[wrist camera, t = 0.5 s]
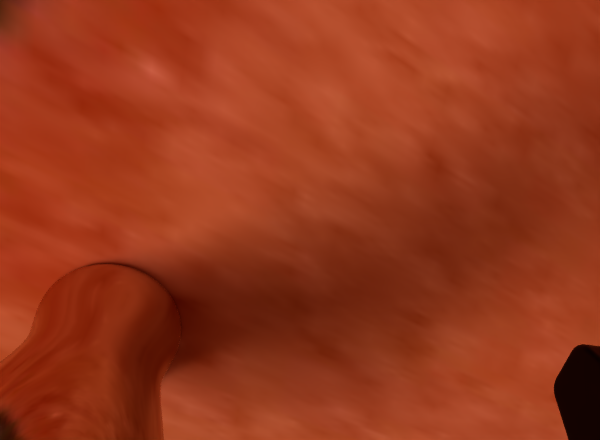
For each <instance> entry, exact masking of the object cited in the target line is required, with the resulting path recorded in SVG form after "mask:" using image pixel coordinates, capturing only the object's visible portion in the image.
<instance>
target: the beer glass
mask: <svg viewBox="0 0 600 440" xmlns="http://www.w3.org/2000/svg"><path fill="white" fill-rule="evenodd" d="M180 338H181V321H180V316H179V312H178V309H177V307H176V304H175V302H174V301H173V299H172V297H171V296H170V294H169V293H168V292H167V291H166V289H165V288H164V287H163V286H162V285H161V284H160V283H158V282H157V281H156V280H155V279H153V278H152V277H150V276H149V275H147V274H145V273H143V272H141V271H139V270H137V269H134V268H131V267H127V266H123V265H117V264H96V265H90V266H86V267H82V268H79V269H77V270H74V271H72V272H70V273H68V274H66V275H65V276H63V277H62V278H60V279H59V280H58V281H56V282H55V283H54V284H53V285H52V286H51V287H50V288H49V290H48V291H47V292H46V294H45V295H44V297H43V298H42V300H41V302H40V304H39V306H38V309H37V311H36V314H35V317H34V320H33V323H32V327H31V330H30V333H29V335H28V336H27V338H26V339H25V340H24V342H23V343H22V344H21V345H20V346H19V347H17V348H16V349H15V350H14V351H13V352H12V353H11V354H9V355H8V356H7V357H6V358H5V359H3V360H2V361H1V362H0V440H164V434H163V421H162V409H161V383H162V379H163V377H164V375H165V373H166V372H167V370H168V368H169V366H170V365H171V363H172V361H173V359H174V357H175V355H176V352H177V350H178V347H179V343H180Z"/></svg>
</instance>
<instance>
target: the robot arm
mask: <svg viewBox="0 0 600 440" xmlns="http://www.w3.org/2000/svg"><path fill="white" fill-rule="evenodd" d="M554 394H555V398H556V401H557V404H558V408H559V411H560V414H561V417H562V420H563V424H564V427H565V430H566V433H567V436H568V439H569V440H600V346H593V345H585V344H582V345H578V346H576V347H575V348H574V349H573V350H572V352H571V354H570V355H569V357H568V359H567V361H566V362H565V364H564V366H563V367H562V369H561V371H560V373H559V374H558V376H557V378H556V380H555V384H554Z"/></svg>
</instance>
